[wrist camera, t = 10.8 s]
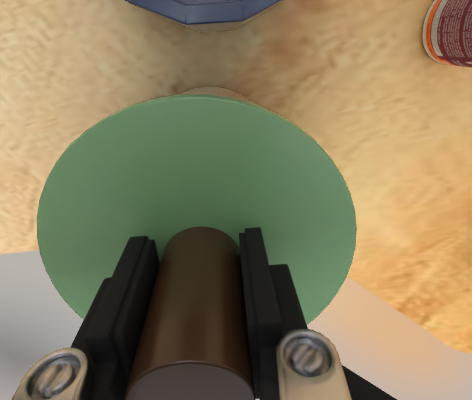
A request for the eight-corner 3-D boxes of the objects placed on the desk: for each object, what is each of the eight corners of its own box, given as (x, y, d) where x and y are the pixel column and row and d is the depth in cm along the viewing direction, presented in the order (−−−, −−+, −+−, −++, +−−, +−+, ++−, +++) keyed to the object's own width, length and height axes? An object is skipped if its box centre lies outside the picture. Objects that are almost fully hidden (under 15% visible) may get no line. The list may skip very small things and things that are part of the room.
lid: (2, 102, 9) (-301, 187, 4) (363, 78, 10) (554, 126, 4) (97, 346, 15) (24, 531, 9) (331, 327, 15) (399, 496, 9)
